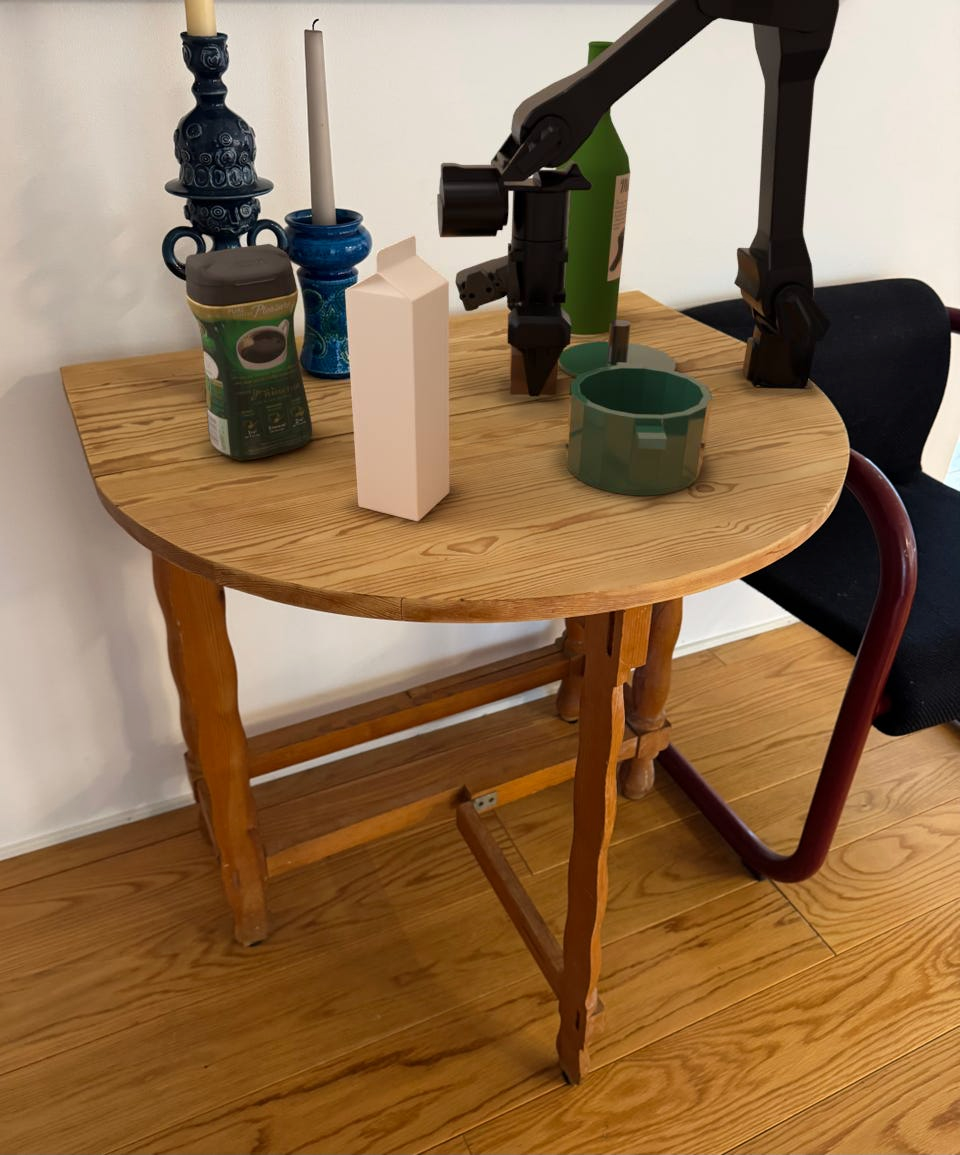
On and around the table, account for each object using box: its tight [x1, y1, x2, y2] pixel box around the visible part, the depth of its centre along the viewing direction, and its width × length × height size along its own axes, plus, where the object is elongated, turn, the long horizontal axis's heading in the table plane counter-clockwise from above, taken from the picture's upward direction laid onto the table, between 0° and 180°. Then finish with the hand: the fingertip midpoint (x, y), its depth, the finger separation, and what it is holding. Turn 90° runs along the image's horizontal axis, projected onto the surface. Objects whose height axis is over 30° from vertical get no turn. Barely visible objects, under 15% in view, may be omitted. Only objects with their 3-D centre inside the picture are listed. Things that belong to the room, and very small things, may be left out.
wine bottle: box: [554, 40, 631, 336], centre depth 115 cm, size 9×9×32 cm
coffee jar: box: [184, 243, 314, 461], centre depth 88 cm, size 10×8×19 cm
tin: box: [565, 362, 713, 497], centre depth 88 cm, size 13×18×8 cm
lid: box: [558, 319, 677, 379], centre depth 110 cm, size 14×14×6 cm
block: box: [509, 345, 559, 396], centre depth 104 cm, size 5×5×5 cm
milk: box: [344, 235, 450, 522], centre depth 78 cm, size 6×6×22 cm
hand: (532, 381), depth 105 cm, fingers open, 8 cm apart
